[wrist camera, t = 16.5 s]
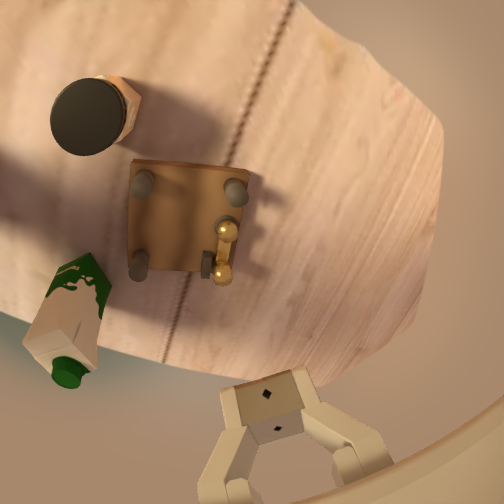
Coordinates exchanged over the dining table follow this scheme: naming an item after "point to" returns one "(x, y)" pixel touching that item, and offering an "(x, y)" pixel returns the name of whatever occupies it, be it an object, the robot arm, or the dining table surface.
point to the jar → (93, 114)
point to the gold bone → (224, 251)
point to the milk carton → (70, 322)
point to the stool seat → (180, 214)
